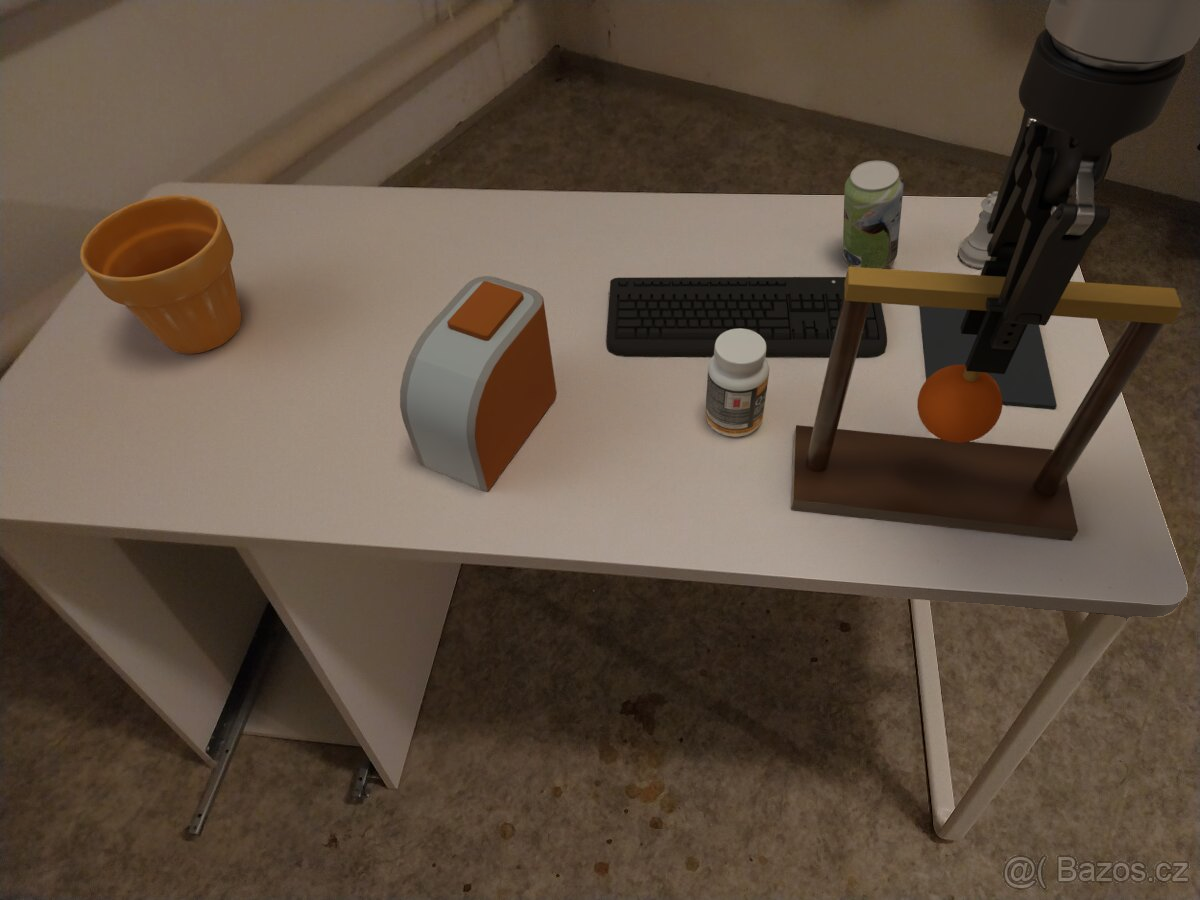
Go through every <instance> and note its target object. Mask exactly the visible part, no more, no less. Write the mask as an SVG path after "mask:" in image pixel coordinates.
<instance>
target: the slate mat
mask: <svg viewBox="0 0 1200 900" xmlns="http://www.w3.org/2000/svg"><path fill="white" fill-rule="evenodd" d="M966 311H967V309H954V308H940V307H926V306H919V315H920V316H919V317H920V327H921V335H922V337H921V338H922V347H923V348H922V349H923V357H924V358H923V359H924V368H925V378H926V379H925V381H926V380H927V379H928V378H929V377H930V376H931V375H932V374H934V373H935V372H937V371H938V370H940V369H942V368H945V367H947V366H951V365H960V364H961V365H965V364H966V361H967V359H968V356H969V354H970V351H971V349H972V346H973V344H974V342H975V339H976V337H977V335H972V334H961V328H960V327H961V324H962V322H963V319H964V316H965V314H966ZM988 374H989V375H990V376H991V377H992V378H993V379H994V380H995V381H996V383H997V385H998V386H999V389H1000V391H1001V395H1002V406H1003V405H1004V406H1015V407H1026V408H1037V409H1049V410H1056V409H1057V407H1058V404H1057V400H1056V396H1055V391H1054V386H1053V382H1052V377H1051V372H1050V367H1049V363H1048V359H1047V355H1046V349H1045V346H1044V341H1043V335H1042V332H1041V327H1040V325H1031V324H1028V325H1027V327H1026V329H1025V331H1024V334H1023V336H1022V338H1021V340H1020V342H1019V344H1018V346H1017V349H1016V351H1015V353H1014V355H1013V357H1012V359H1011V361H1010V364H1009V366H1008V368H1007V370H1006V372H1005V374H997V373H988Z"/></svg>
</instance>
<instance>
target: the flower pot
mask: <svg viewBox="0 0 1200 900" xmlns="http://www.w3.org/2000/svg"><path fill="white" fill-rule="evenodd" d="M234 250H235V249H234V242H233V240H232V237H231V234H230V232H229V229H228V227H227V225H226V223H225V221H224V218H223V216H222V214H221V212H220V210H219V209H218V208H217V206H215V205H214V204H212V203H211V202H210V201H208V200H206V199H204V198H200V197H198V196H197V197H196V196H192V195H183V194H171V195H162V196H156V197H151V198H146V199H143V200H140V201H137V202H134V203H131V204H129V205H126V206H124V207H122V208H120V209H118V210H116V211H114V212H113V213H111V214H109V215H108V216H106V217H105V218H103V219H102V220H101V221H99V222H98V223H97V224H96V225H95V226H94V227H93V228H92V229H91V230H90V231H89V232H88V234H87V235H86V237H85V238H84V240H83V241H82V244H81V247H80V253H79V257H80V262H81V264H82V266H83V268H84V269H85V271H86V272H87V274H88V276H89V277H90V278H91V280H92V282H93V283H94V284H95V285H96V287H97V288H98V289H99V290H100V292H101V293H102V294H103V295H104V297H106V298H107V299H109V300H110V301H112V302H114V303H117V304H119V305H122V306H125V307H126V308H127V309H128V310H129V311H130V312H131V314H133V315H134V316H135V317H136V318H137V319H138V320H139V321H140V322H141V324H142V325H144V326H145V328H147V329H148V330H149V331H150V332H151V333H152V334H153V335H154V336H155V337H156V338H157V339H158V340H159V341H160V342H161V343H163V344H164V345H165V346H166V347H167V348H168V349H170V350H172V351H173V352H176V353H180V354H186V355H187V354H188V355H190V354H191V355H192V354H200V353H204V352H208V351H210V350H212V349H215V348H219V347H220V346H222V345H223V344H225V343H227V342H228V341H229V340H230V339H232V337H233V336H235V335H236V333H237V332H238V330H239V329H240V326H241V324H242V313H241V306H240V302H239V297H238V291H237V287H236V286H237V285H236V282H235V278H234V274H233V273H234V272H233V269H232V260H233V257H234V252H235V251H234Z"/></svg>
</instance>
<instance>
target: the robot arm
mask: <svg viewBox="0 0 1200 900" xmlns="http://www.w3.org/2000/svg"><path fill="white" fill-rule="evenodd" d="M1044 25H1045V26H1044V27H1045V29H1043V30H1042V31H1040V33H1039V34H1038V36H1037V37H1036V40H1035V42H1034V44H1033V48H1032V49H1031V50H1032V51H1031V53H1030V56H1029V59H1028V62H1027V65H1026V67H1025V70H1024V72H1023V76H1022V79H1021V81H1020V85H1019V88H1018V99H1019V103H1020V105H1021V107H1022V108H1023V110H1024V112H1023V116H1022V119H1021V124H1020V129H1019V132H1018V135H1017V138H1016V140H1015V143H1014V145H1013V149H1012V152H1011V155H1010V158H1009V161H1008V164H1007V167H1006V169H1005V173H1004V175H1003V179H1002V181H1001V184H1000V187H999V190H998V194H997V195H998V196H997V199H996V201H995V204H994V207H993V210H992V213H991V216H990V219H989V222H988V223H987V232H988V234H993V236H992V238H991V240H990V242H989V244H988V246H987V251H988V256H989V257H991V258H990V261H989V260H986V262H985V264H984V267H983V268H982V270H981V272H980V275H983V276H998V277H1006V279H1005V281H1004V284H1003V287H1002V290H1001V293H1000V296H999V298H990V297H987V300H986V310H987V311H981V310H968V309H967V311H966V314H965V316H964V319H963V322H962V324H961V327H960V328H961V334H972V335H977V337H976V339H975V342H974V344H973V346H972V349H971V351H970V354H969V356H968V359H967V361H966V364H965V365H966V371H973V372H985V373H997V374H1005V372H1006V370H1007V368H1008V366H1009V364H1010V361H1011V359H1012V357H1013V355H1014V353H1015V351H1016V349H1017V346H1018V344H1019V342H1020V340H1021V338H1022V336H1023V334H1024V331H1025V329H1026V327H1027V325H1028V324H1031V325H1039V326H1046V325H1047V324H1048V322H1049V320H1050V319H1051V317H1052V316H1051V315H1052V313H1053V311H1054V309H1055V308H1056V306H1057V304H1058V302H1059V300H1060V298H1061V297H1062V295H1063V293H1064V291H1065V289H1066V287H1067V285H1068V284H1069V282H1070V281H1071V280H1072V278H1073V276H1074V275H1075V272H1077V269H1078V267H1079V265H1080V263H1081V261H1082V259H1083V258H1084V256H1085V254H1086V252H1087V250H1088V249H1089V247H1090V244H1091V243H1092V241H1093V240H1094V239H1095V238H1096V237H1097V235H1099V233H1100V232H1101V231H1102V230H1103V229H1104V228H1105V227H1106V225H1107V224H1108V221H1109V220H1110V217H1111V214H1110V213H1111V209H1110V206H1109V205H1103V204H1095V191H1096V188H1097V187H1098V184H1100V183H1101V182H1102V181H1103V180H1104V179H1105V177H1106V175H1107V172H1108V171H1109V167H1110V165H1111V161H1112V157H1113V154H1112V153H1113V151H1112V147H1113V146H1114V145H1115V144H1116V143H1118V142H1119V141H1122V140H1123V139H1125V138H1127V137H1129V136H1132V135H1134V134H1137V133H1140V132H1142V131H1144V130H1146V129H1147V128H1149V127H1151V125H1153V123H1155V121H1156V120H1157V119H1158V118H1159V116H1160V114H1162V111H1163V109H1164V106H1165V105H1166V103H1167V101H1168V99H1169V96H1170V95H1171V93H1172V90H1174V87H1175V84H1176V83H1177V81H1178V79H1179V76H1180V75H1181V73H1182V71H1183V68H1184V67H1185V64H1186V55H1185V54H1186V53H1188V52H1190V51H1192V50H1193V48H1194V47H1195V45H1196V44H1197V43H1198V41H1199V39H1200V0H1050V3H1049V6H1048V9H1047V11H1046V15H1045V18H1044Z"/></svg>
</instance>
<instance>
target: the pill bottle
mask: <svg viewBox="0 0 1200 900" xmlns="http://www.w3.org/2000/svg"><path fill="white" fill-rule="evenodd" d="M707 366H708V367H707V377H706V378H707V380H706V397H705V419H706V422H707V423H708V425H709V427H710V428H712V429H713V430H714V431H715V432H717V433H719V434H720V435H723V436H726V437H734V438H738V437H744V436H747V435H750V434H752V433H753V432H755V431H756V430H757V429H758V428H759V427H760V426H761V424H762V422H763V418H764V412H765V405H766V397H767V391H768V383H769V378H770V377H769V376H770V364H769V361H768V359H767V357H766V343H765V340H764V339H763V338H762V337H761V336H760V335H759V334H758V333H756V332H754V331H751V330H748V329H741V328H740V329H731V330H728V331H726V332H724V333H722V334H721V335H720V336H719V337H718V338H717V340H716V343H715V349H714V355H713V357H710V359H709V361H708V365H707Z"/></svg>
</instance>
